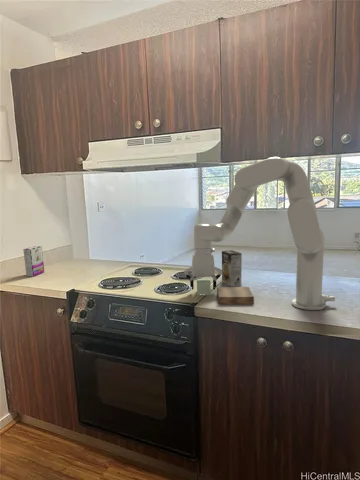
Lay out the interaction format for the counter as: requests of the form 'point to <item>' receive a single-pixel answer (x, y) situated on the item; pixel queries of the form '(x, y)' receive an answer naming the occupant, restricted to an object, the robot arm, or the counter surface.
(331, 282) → the counter surface
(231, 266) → the coffee box
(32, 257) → the candy bar box
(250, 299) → the walnut base
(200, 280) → the sage block
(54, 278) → the counter surface
